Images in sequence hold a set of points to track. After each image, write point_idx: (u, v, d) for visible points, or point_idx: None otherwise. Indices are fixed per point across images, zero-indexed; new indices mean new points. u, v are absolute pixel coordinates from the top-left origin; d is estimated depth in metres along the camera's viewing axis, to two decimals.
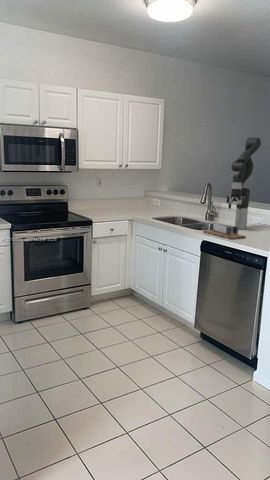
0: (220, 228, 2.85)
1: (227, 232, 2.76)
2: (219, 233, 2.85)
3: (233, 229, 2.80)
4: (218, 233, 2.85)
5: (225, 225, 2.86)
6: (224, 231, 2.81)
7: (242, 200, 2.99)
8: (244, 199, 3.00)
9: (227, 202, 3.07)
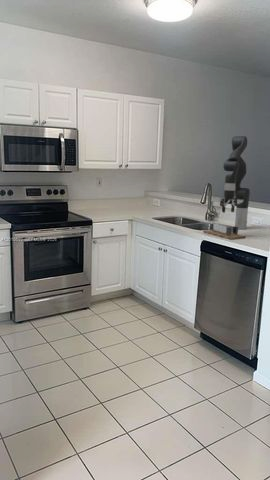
0: (220, 228, 2.85)
1: (227, 232, 2.76)
2: (219, 233, 2.85)
3: (233, 229, 2.80)
4: (218, 233, 2.85)
5: (225, 225, 2.86)
6: (224, 231, 2.81)
7: None
8: (222, 201, 2.75)
9: None
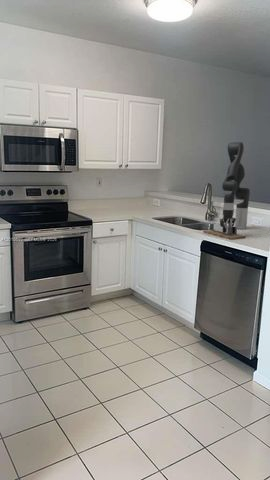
0: (221, 228, 2.85)
1: (228, 232, 2.77)
2: (219, 233, 2.85)
3: None
4: (218, 233, 2.85)
5: (224, 225, 2.85)
6: None
7: None
8: (221, 222, 2.78)
9: None
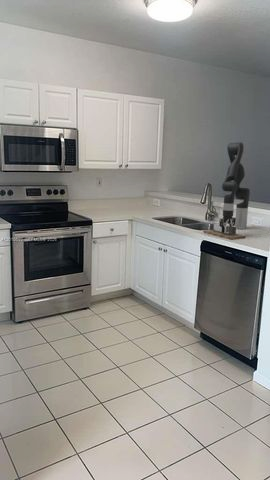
0: (221, 228, 2.85)
1: (230, 232, 2.77)
2: (219, 233, 2.85)
3: None
4: (218, 233, 2.85)
5: None
6: (226, 231, 2.81)
7: None
8: (221, 222, 2.78)
9: None
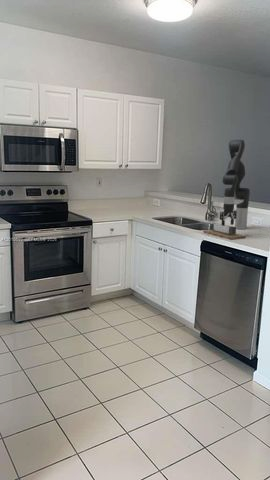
0: (221, 228, 2.85)
1: (230, 232, 2.77)
2: (219, 233, 2.85)
3: None
4: (218, 233, 2.85)
5: None
6: (226, 231, 2.81)
7: (220, 215, 2.79)
8: (221, 215, 2.77)
9: None
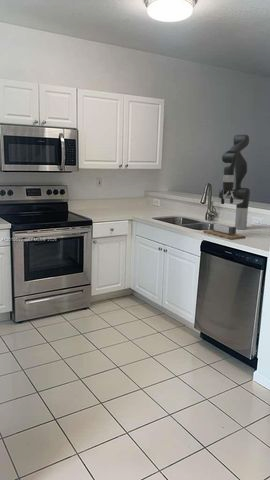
0: (221, 228, 2.85)
1: (230, 232, 2.77)
2: (219, 233, 2.85)
3: None
4: (218, 233, 2.85)
5: None
6: (226, 231, 2.81)
7: None
8: (221, 193, 2.77)
9: None
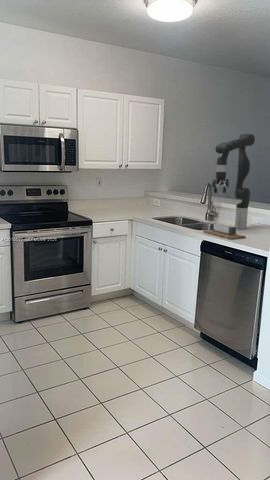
0: (221, 228, 2.85)
1: (230, 232, 2.77)
2: (219, 233, 2.85)
3: None
4: (218, 233, 2.85)
5: None
6: (226, 231, 2.81)
7: None
8: (214, 182, 2.88)
9: None
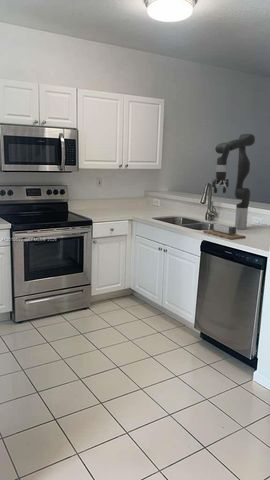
0: (221, 228, 2.85)
1: (230, 232, 2.77)
2: (219, 233, 2.85)
3: None
4: (218, 233, 2.85)
5: None
6: (226, 231, 2.81)
7: None
8: (214, 182, 2.88)
9: None
